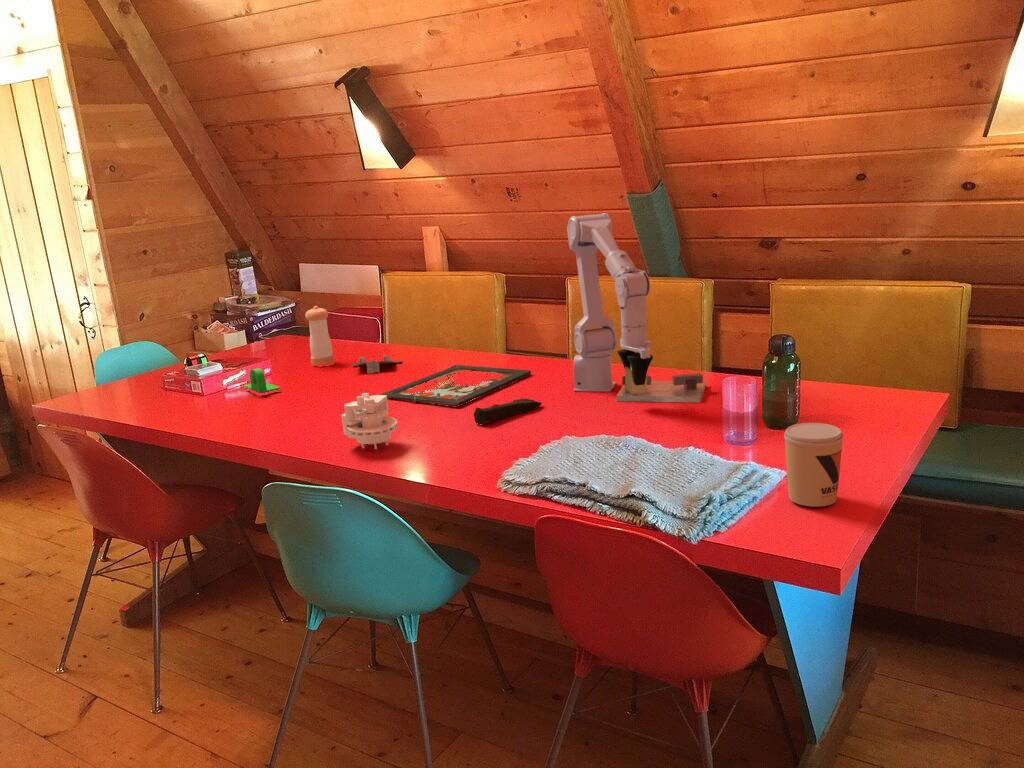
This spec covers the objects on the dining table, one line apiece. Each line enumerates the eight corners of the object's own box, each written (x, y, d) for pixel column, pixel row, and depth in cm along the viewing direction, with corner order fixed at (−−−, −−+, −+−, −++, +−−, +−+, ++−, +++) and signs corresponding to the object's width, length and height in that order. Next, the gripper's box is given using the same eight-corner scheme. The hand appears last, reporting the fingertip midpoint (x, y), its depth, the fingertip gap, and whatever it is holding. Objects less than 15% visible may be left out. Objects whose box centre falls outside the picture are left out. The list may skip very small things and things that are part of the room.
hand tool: (483, 410, 202) (470, 406, 205) (484, 427, 203) (471, 423, 207) (543, 392, 214) (530, 389, 217) (543, 408, 215) (530, 404, 218)
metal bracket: (397, 353, 260) (346, 357, 260) (398, 373, 260) (347, 377, 260) (402, 356, 274) (354, 360, 274) (404, 375, 274) (355, 378, 274)
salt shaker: (313, 365, 280) (305, 305, 276) (336, 363, 281) (328, 303, 276) (310, 370, 273) (302, 309, 268) (334, 368, 274) (326, 307, 269)
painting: (534, 377, 247) (534, 368, 246) (460, 412, 219) (459, 402, 218) (454, 370, 262) (453, 362, 261) (375, 402, 234) (374, 393, 233)
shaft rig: (616, 401, 215) (615, 383, 214) (626, 386, 228) (625, 369, 227) (700, 402, 209) (699, 383, 208) (705, 386, 222) (705, 369, 221)
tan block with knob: (632, 393, 204) (631, 365, 203) (625, 389, 209) (624, 361, 207) (647, 391, 205) (646, 364, 203) (640, 387, 209) (639, 360, 208)
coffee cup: (828, 513, 144) (829, 443, 141) (774, 501, 150) (774, 434, 147) (850, 494, 151) (852, 427, 148) (798, 483, 157) (798, 419, 154)
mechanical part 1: (281, 394, 248) (277, 366, 246) (261, 399, 245) (256, 371, 242) (263, 387, 257) (259, 360, 255) (243, 392, 254) (239, 365, 252)
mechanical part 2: (372, 458, 188) (365, 404, 185) (336, 449, 196) (329, 397, 193) (411, 443, 196) (405, 391, 193) (375, 435, 204) (369, 385, 201)
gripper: (662, 328, 197) (664, 387, 200) (638, 317, 210) (640, 373, 214) (632, 332, 195) (634, 391, 199) (610, 321, 209) (613, 376, 213)
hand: (635, 382), depth 206 cm, fingers closed on tan block with knob, 4 cm apart
